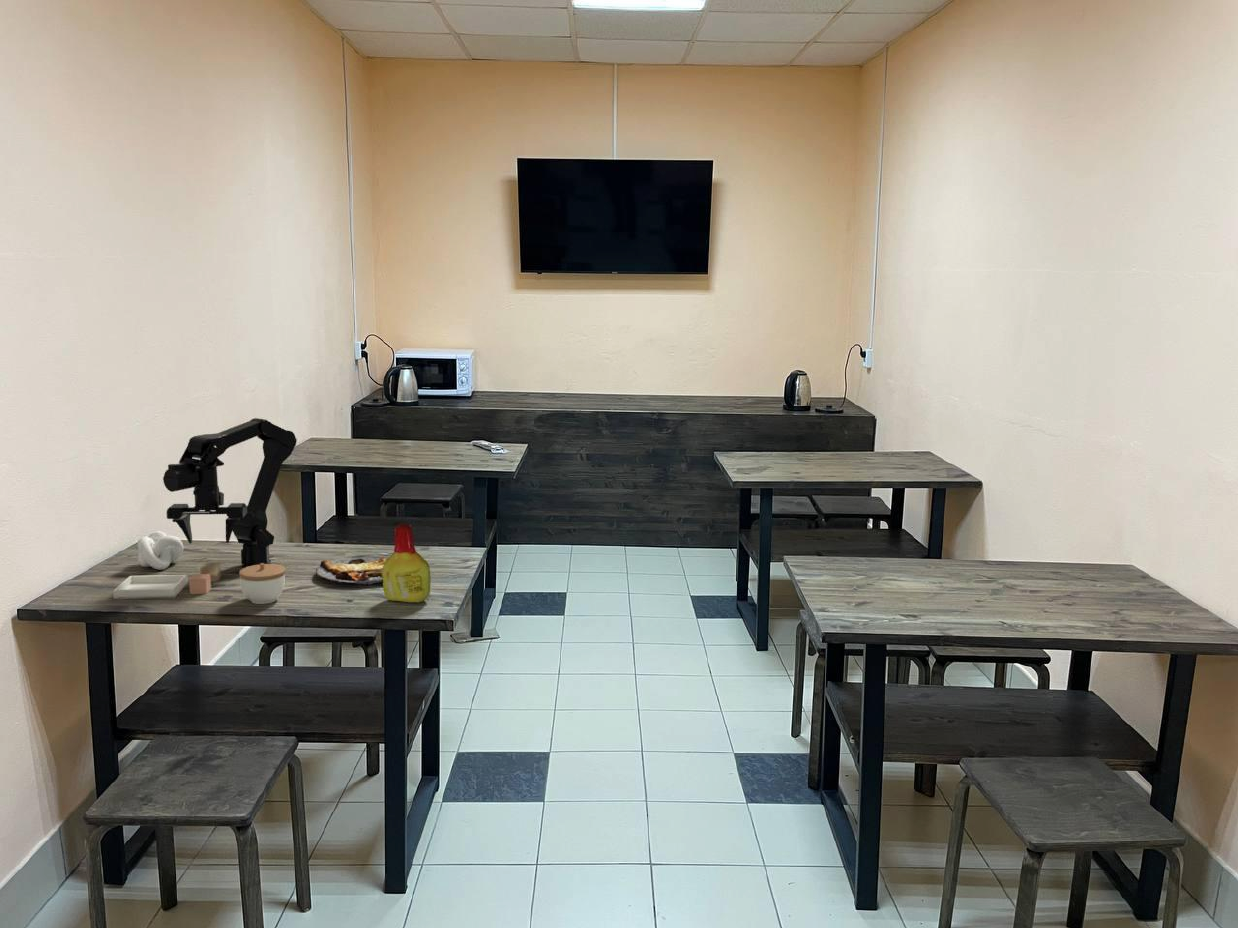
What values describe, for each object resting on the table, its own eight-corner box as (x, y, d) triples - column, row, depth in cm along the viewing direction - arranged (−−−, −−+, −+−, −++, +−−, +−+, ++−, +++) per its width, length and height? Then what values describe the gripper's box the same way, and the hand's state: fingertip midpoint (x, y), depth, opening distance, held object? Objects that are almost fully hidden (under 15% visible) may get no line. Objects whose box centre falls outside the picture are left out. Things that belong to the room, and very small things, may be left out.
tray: (187, 582, 251) (187, 574, 250) (173, 597, 239) (173, 589, 239) (130, 583, 249) (130, 575, 248) (113, 599, 237) (113, 590, 237)
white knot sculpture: (169, 574, 258) (167, 541, 256) (124, 572, 258) (122, 540, 256) (188, 561, 269) (186, 530, 267) (146, 560, 269) (144, 529, 268)
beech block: (221, 577, 257) (220, 562, 256) (217, 581, 253) (216, 567, 252) (205, 577, 256) (204, 562, 255) (201, 581, 252) (200, 567, 251)
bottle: (379, 603, 239) (377, 525, 235) (388, 595, 245) (386, 519, 242) (425, 606, 238) (424, 528, 234) (433, 598, 244) (432, 521, 240)
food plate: (321, 591, 247) (321, 578, 246) (310, 567, 267) (310, 555, 267) (418, 584, 257) (419, 571, 256) (400, 561, 278) (401, 549, 277)
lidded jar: (243, 609, 232) (241, 572, 231) (238, 596, 242) (236, 560, 240) (289, 603, 237) (288, 567, 235) (282, 591, 246) (281, 555, 245)
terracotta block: (211, 588, 247) (210, 573, 246) (206, 593, 243) (205, 578, 242) (194, 589, 246) (193, 574, 246) (190, 594, 242) (189, 578, 242)
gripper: (250, 478, 259) (253, 534, 262) (177, 478, 256) (180, 535, 259) (240, 486, 248) (243, 545, 251) (164, 487, 245) (168, 546, 248)
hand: (209, 542), depth 253 cm, fingers open, 9 cm apart
